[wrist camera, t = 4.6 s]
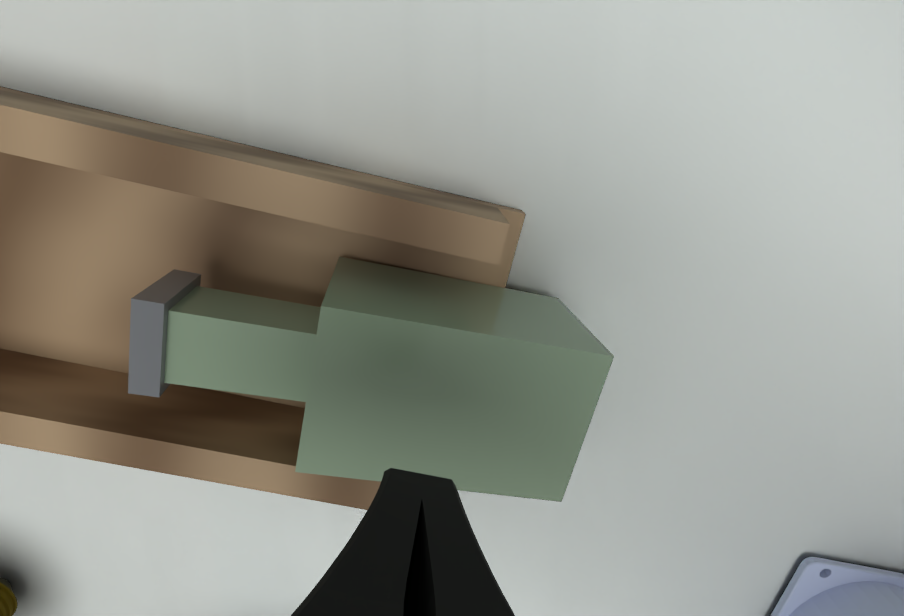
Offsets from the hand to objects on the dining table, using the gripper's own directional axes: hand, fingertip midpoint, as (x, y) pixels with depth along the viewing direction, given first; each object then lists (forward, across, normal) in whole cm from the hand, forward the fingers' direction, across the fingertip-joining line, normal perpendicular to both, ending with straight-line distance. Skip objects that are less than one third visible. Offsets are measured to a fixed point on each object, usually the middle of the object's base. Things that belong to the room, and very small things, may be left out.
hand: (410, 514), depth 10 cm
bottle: (+7, -5, 0) cm, 9 cm away
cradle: (+10, +8, 0) cm, 13 cm away
